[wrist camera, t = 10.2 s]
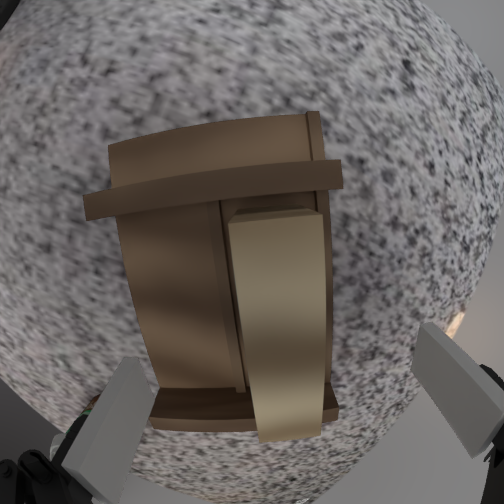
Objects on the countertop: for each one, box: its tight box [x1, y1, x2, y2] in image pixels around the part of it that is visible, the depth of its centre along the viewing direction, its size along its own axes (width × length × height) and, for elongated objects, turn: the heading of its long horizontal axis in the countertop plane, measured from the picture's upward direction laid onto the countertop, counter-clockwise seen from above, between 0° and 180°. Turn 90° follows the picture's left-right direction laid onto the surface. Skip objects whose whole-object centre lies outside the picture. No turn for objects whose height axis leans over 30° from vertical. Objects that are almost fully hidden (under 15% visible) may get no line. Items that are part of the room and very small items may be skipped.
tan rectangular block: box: [228, 204, 326, 443], centre depth 17 cm, size 14×4×7 cm, turn 6°
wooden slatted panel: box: [83, 111, 343, 432], centre depth 19 cm, size 26×15×5 cm, turn 6°
